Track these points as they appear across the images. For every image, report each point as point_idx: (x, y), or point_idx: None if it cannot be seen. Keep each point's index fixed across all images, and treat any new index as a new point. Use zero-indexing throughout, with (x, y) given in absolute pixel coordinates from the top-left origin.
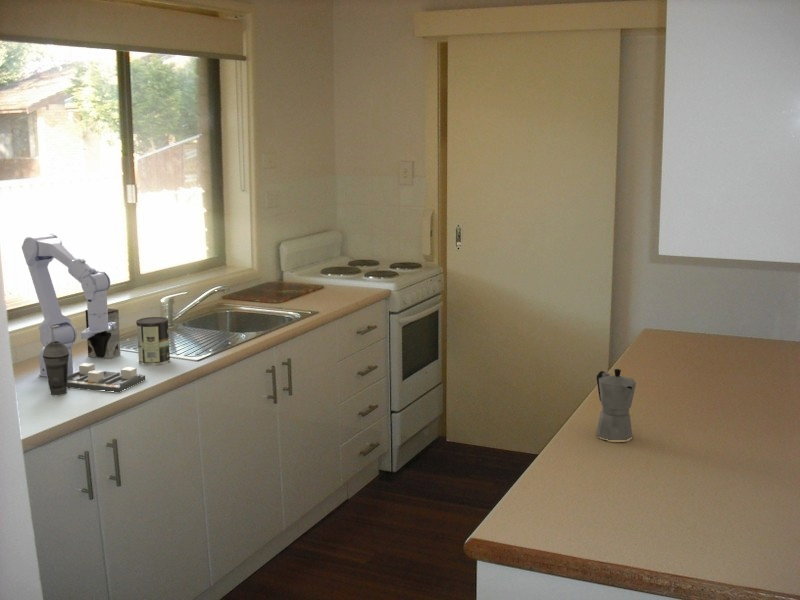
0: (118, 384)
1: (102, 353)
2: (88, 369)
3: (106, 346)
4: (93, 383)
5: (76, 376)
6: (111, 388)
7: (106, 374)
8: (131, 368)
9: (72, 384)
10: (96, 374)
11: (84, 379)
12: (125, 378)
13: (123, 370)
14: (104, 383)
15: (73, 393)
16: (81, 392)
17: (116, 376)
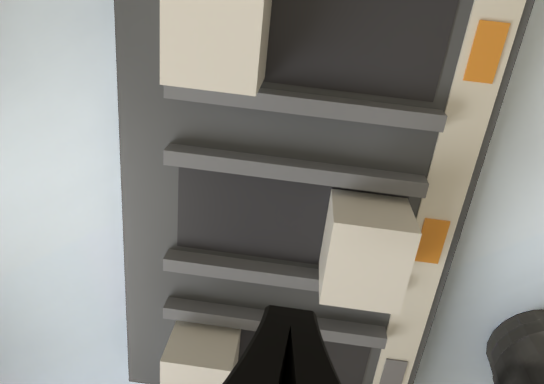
0: (440, 13)
1: (320, 337)
2: (235, 355)
3: (238, 374)
4: (433, 218)
5: None
6: (519, 35)
7: (191, 235)
8: (189, 8)
9: (424, 338)
10: (417, 238)
11: None
12: (268, 36)
13: (258, 65)
14: (413, 146)
15: (537, 272)
16: (513, 237)
17: (213, 147)
